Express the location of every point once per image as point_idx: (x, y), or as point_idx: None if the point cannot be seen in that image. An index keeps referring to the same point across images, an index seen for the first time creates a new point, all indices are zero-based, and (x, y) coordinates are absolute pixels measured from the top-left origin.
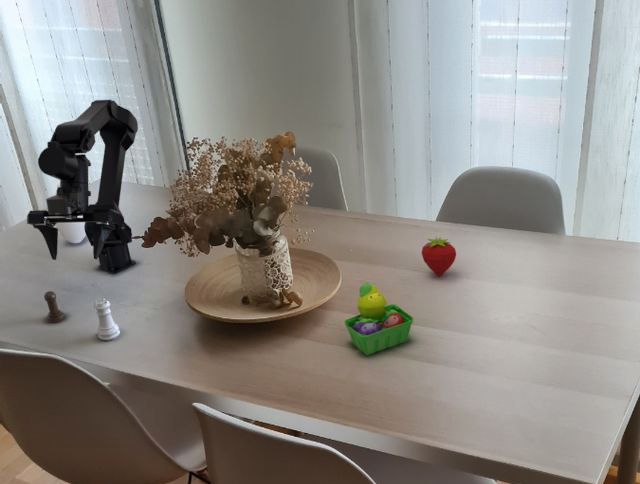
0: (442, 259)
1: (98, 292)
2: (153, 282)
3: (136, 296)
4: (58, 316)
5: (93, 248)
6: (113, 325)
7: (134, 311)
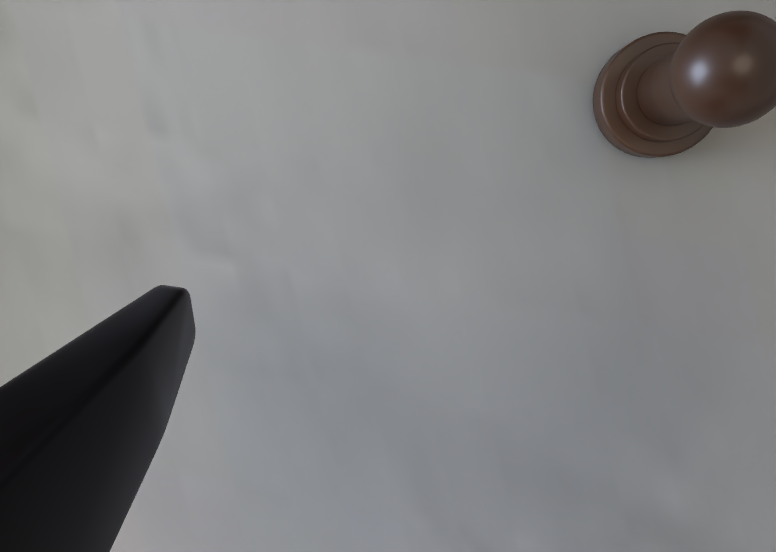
0: None
1: (426, 455)
2: None
3: None
4: (629, 62)
5: (104, 374)
6: None
7: (108, 136)
